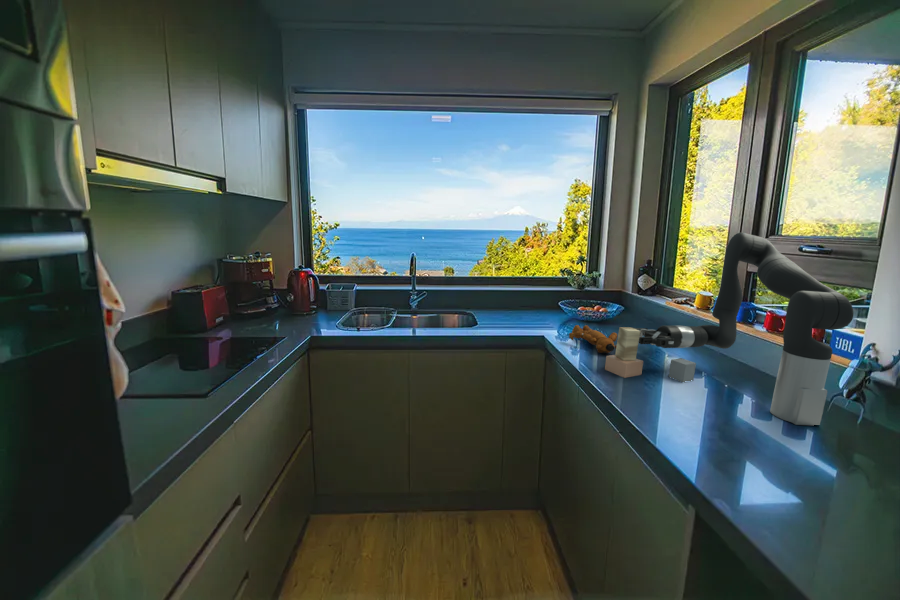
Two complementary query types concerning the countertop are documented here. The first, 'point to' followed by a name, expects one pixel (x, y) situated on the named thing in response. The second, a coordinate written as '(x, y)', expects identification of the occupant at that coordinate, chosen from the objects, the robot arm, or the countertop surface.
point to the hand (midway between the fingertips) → (631, 336)
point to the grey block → (682, 370)
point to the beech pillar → (627, 343)
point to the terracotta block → (623, 366)
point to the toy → (595, 338)
